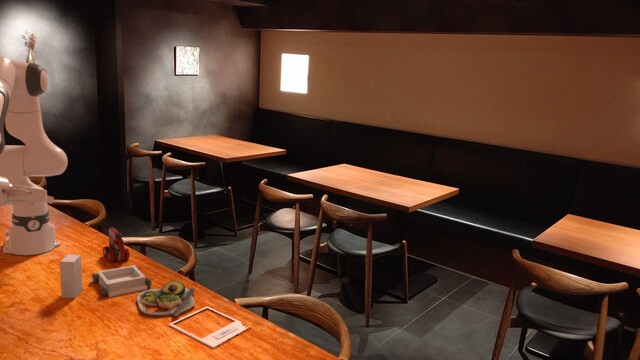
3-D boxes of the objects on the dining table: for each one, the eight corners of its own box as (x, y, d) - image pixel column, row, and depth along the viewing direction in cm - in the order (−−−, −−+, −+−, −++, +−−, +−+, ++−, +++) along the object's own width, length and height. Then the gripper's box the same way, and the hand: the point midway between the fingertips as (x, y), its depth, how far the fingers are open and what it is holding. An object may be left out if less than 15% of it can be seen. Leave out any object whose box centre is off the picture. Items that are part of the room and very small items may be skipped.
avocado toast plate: (203, 317, 151) (204, 303, 150) (140, 325, 143) (140, 310, 142) (192, 289, 168) (192, 276, 167) (135, 295, 161) (135, 282, 160)
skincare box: (68, 289, 160) (67, 253, 158) (82, 289, 161) (81, 254, 158) (60, 298, 154) (59, 261, 152) (75, 298, 155) (74, 262, 152)
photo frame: (213, 346, 134) (168, 323, 144) (213, 350, 134) (168, 327, 144) (251, 325, 146) (207, 305, 156) (250, 329, 146) (207, 309, 156)
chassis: (91, 280, 168) (91, 270, 167) (136, 271, 177) (136, 262, 176) (104, 298, 157) (104, 287, 156) (151, 288, 165) (151, 278, 165)
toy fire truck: (112, 265, 181) (111, 238, 178) (101, 254, 190) (100, 227, 187) (131, 262, 185) (131, 235, 183) (120, 251, 194) (119, 225, 192)
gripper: (17, 177, 133) (66, 188, 145) (-24, 182, 143) (25, 192, 155) (12, 201, 132) (62, 210, 143) (-28, 204, 142) (21, 213, 153)
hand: (42, 201), depth 149 cm, fingers open, 8 cm apart
